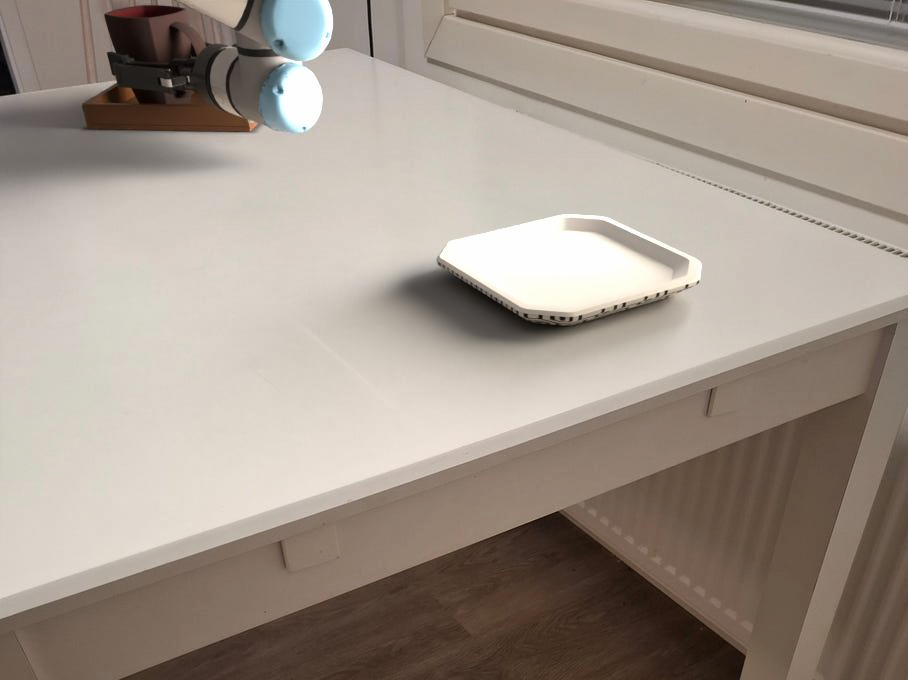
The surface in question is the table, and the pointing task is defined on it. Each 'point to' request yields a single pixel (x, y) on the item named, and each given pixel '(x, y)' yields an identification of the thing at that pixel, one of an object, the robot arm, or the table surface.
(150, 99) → the cup
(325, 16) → the robot arm
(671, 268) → the plate
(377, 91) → the table surface
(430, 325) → the table surface
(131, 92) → the tray
